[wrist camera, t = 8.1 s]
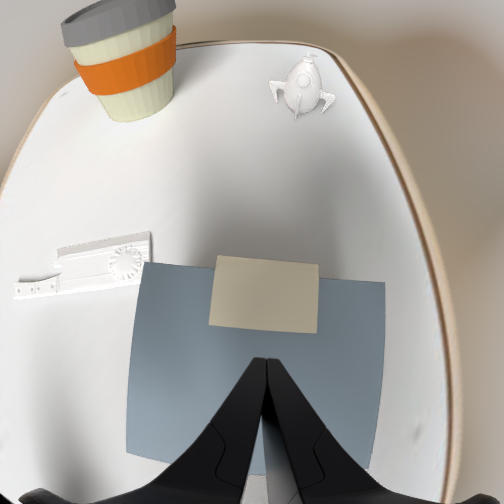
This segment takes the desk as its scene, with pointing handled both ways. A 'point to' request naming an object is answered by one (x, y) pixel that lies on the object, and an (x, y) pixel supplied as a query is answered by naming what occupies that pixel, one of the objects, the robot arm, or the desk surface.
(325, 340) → the lid
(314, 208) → the desk surface
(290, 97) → the rocket toy
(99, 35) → the reusable coffee cup
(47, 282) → the white plastic blade
